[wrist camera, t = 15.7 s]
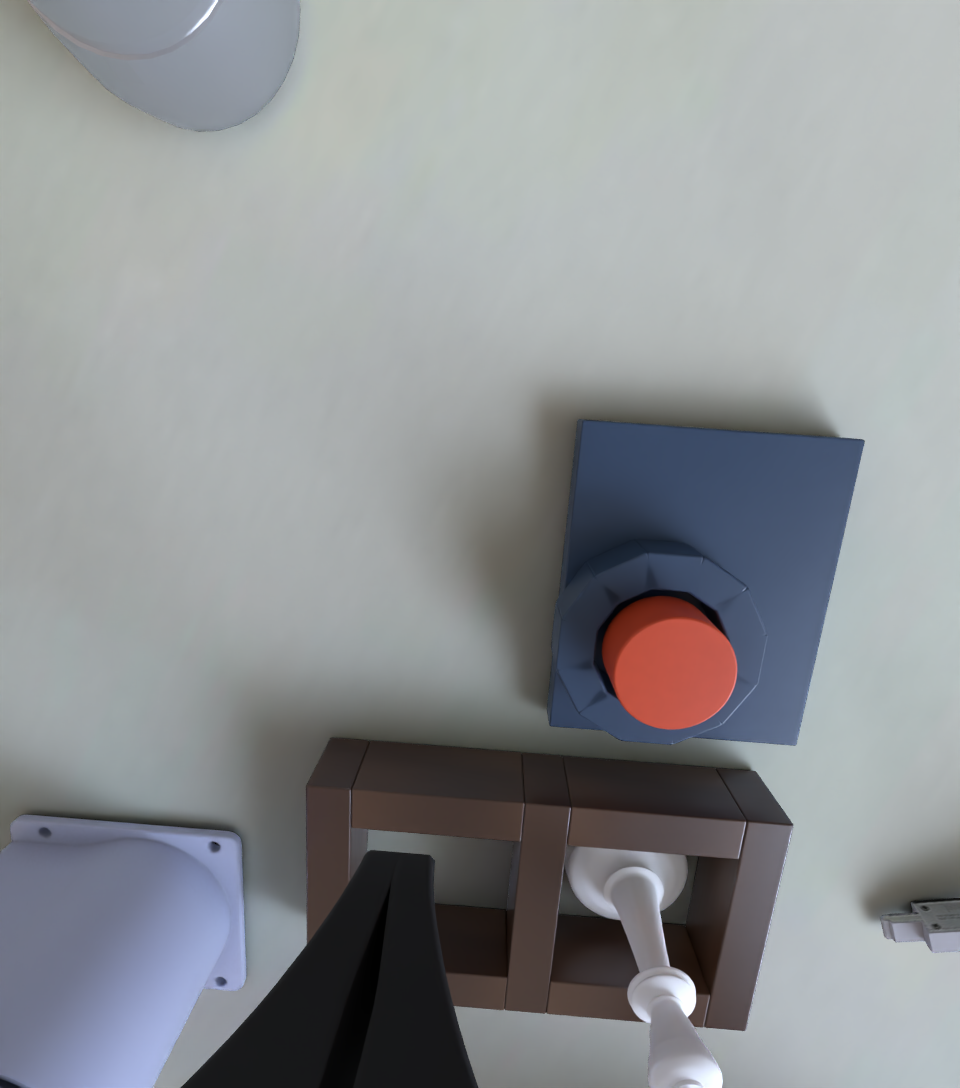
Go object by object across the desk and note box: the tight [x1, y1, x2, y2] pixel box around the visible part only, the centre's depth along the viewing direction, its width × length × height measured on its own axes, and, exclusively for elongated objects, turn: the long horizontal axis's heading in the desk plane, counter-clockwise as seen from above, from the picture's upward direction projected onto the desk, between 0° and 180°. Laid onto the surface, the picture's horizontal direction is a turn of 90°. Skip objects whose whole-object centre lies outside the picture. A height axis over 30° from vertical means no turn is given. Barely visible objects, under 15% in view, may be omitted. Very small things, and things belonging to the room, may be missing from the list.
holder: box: [306, 738, 793, 1031], centre depth 22 cm, size 17×9×3 cm, turn 86°
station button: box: [602, 596, 737, 729], centre depth 17 cm, size 4×4×2 cm
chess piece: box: [564, 845, 723, 1088], centre depth 19 cm, size 5×5×10 cm
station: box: [547, 419, 865, 745], centre depth 19 cm, size 9×11×3 cm
